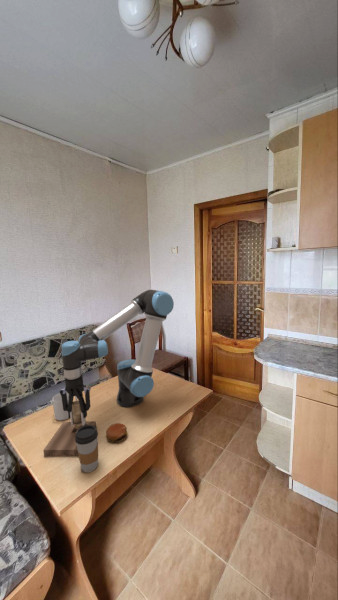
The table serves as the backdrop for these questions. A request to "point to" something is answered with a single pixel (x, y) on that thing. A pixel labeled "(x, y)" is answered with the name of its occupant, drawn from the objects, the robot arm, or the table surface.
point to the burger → (116, 432)
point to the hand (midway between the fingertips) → (78, 423)
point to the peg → (77, 414)
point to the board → (64, 441)
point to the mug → (60, 407)
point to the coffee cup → (87, 447)
